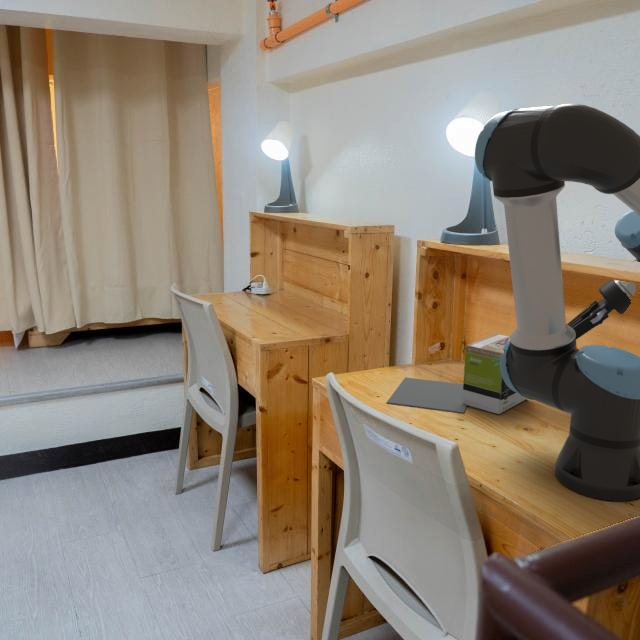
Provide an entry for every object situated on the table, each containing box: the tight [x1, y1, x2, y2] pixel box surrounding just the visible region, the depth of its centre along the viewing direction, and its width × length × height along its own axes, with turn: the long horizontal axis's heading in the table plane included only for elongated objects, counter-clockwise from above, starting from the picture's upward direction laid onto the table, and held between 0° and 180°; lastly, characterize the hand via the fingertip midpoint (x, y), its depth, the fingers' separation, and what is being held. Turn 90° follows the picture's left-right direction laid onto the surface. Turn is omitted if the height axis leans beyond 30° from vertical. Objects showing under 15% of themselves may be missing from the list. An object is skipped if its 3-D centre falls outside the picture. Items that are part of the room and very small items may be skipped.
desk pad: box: [386, 377, 468, 414], centre depth 155 cm, size 20×18×1 cm
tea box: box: [462, 333, 527, 415], centre depth 148 cm, size 15×10×15 cm
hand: (537, 357), depth 145 cm, fingers closed
